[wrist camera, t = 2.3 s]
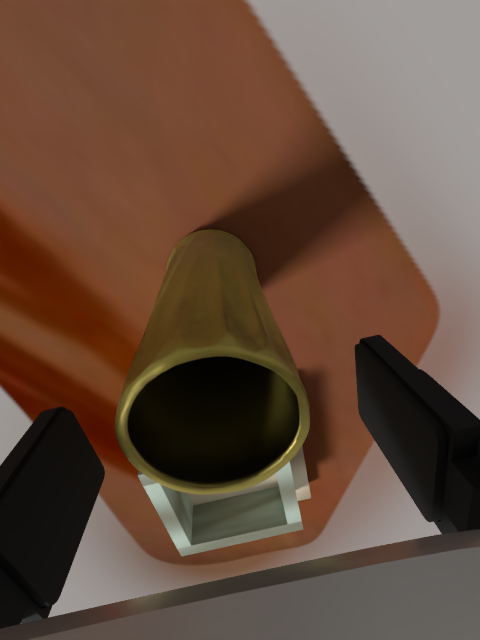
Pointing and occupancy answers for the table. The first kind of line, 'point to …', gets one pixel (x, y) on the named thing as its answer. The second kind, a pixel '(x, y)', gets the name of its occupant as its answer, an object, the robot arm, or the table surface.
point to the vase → (211, 377)
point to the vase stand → (232, 510)
